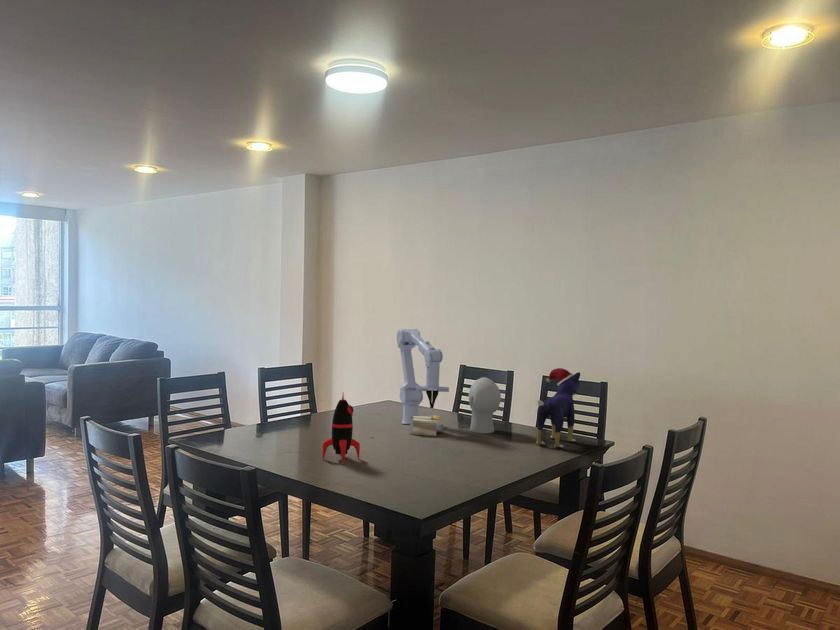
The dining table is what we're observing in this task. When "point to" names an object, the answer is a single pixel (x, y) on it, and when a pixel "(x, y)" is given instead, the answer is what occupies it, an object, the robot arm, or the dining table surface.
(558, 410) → the toy
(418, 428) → the block
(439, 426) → the silver metal piece
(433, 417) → the keeper flap
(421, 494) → the dining table surface
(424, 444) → the dining table surface
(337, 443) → the toy rocket
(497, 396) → the head
